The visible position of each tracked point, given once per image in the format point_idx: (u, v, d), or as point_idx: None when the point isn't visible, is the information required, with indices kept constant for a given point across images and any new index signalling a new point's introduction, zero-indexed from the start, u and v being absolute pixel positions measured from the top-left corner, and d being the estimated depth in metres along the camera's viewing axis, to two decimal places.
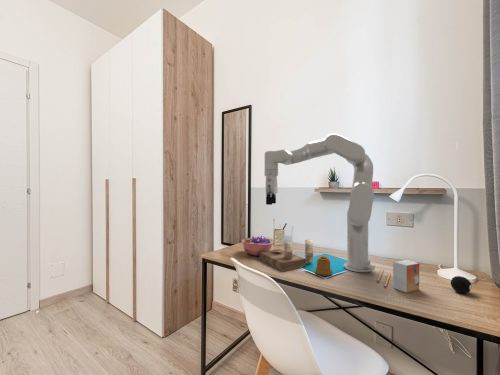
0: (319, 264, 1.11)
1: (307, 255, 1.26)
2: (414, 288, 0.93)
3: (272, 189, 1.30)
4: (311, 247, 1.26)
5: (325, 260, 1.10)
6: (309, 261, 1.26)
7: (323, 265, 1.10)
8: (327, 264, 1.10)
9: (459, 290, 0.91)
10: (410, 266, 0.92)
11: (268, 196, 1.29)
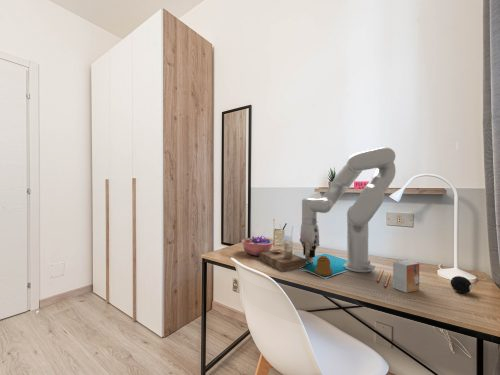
0: (319, 264, 1.11)
1: (307, 255, 1.26)
2: (414, 288, 0.93)
3: (318, 239, 1.24)
4: None
5: (325, 260, 1.10)
6: (309, 261, 1.26)
7: (323, 265, 1.10)
8: (327, 264, 1.10)
9: (459, 290, 0.91)
10: (410, 266, 0.92)
11: (314, 249, 1.24)
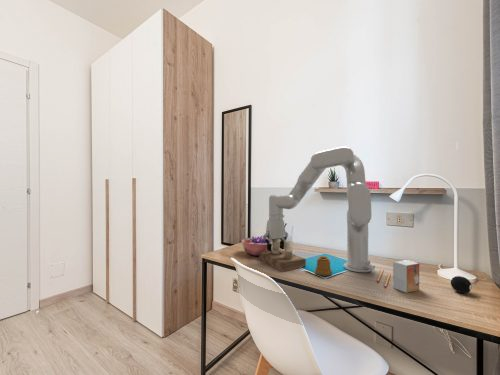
0: (319, 264, 1.11)
1: (279, 253, 1.31)
2: (414, 288, 0.93)
3: None
4: None
5: (325, 260, 1.10)
6: None
7: (323, 265, 1.10)
8: (327, 264, 1.10)
9: (459, 290, 0.91)
10: (410, 266, 0.92)
11: None
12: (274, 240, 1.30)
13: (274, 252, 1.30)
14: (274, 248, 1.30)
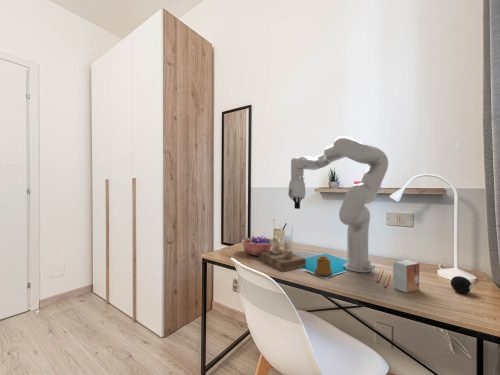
0: (319, 264, 1.11)
1: (279, 253, 1.31)
2: (414, 288, 0.93)
3: None
4: None
5: (325, 260, 1.10)
6: None
7: (323, 265, 1.10)
8: (327, 264, 1.10)
9: (459, 290, 0.91)
10: (410, 266, 0.92)
11: None
12: (274, 240, 1.30)
13: (274, 252, 1.30)
14: (274, 248, 1.30)
